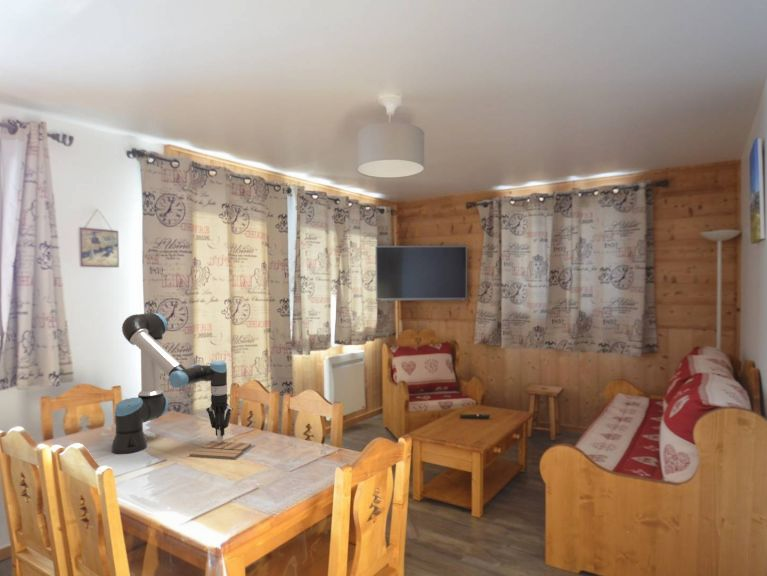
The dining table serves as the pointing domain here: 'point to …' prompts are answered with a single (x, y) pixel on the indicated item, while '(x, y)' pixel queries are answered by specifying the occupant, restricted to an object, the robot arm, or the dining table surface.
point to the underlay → (219, 453)
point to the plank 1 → (216, 445)
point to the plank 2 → (237, 446)
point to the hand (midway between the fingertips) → (220, 442)
